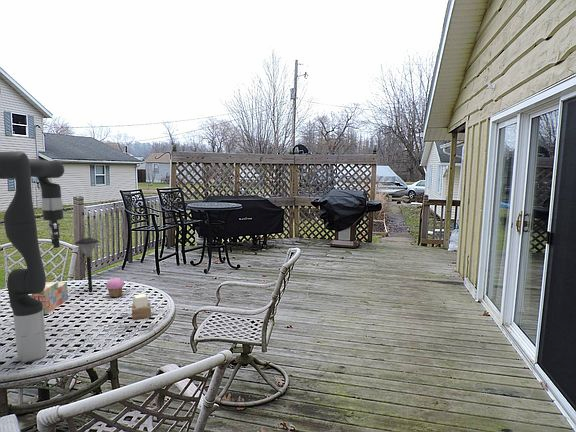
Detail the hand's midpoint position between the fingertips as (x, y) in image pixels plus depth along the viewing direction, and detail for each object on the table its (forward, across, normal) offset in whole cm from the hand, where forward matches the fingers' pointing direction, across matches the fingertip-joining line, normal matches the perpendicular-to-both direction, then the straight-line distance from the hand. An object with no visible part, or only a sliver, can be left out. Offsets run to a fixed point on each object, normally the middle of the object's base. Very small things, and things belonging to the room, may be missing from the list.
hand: (55, 245), depth 171 cm
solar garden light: (+36, -45, +18) cm, 61 cm away
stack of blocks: (+36, -31, -2) cm, 48 cm away
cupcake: (+36, -29, +28) cm, 54 cm away
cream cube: (+31, +8, +32) cm, 45 cm away
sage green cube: (+36, -3, +34) cm, 50 cm away
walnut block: (+36, +8, +32) cm, 49 cm away
